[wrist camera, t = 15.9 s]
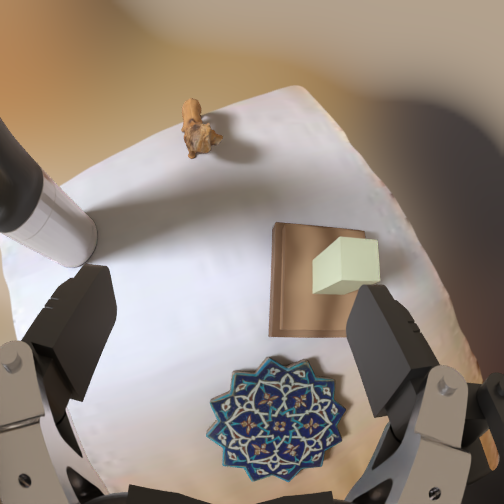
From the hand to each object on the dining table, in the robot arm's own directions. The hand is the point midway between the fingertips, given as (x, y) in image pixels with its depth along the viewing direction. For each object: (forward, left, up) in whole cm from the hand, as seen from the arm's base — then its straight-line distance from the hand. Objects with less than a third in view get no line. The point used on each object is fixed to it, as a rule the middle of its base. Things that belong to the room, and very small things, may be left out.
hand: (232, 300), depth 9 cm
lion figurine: (-7, +30, -33) cm, 45 cm away
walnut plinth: (+13, +7, -33) cm, 36 cm away
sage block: (+13, +7, -28) cm, 31 cm away
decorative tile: (+8, -14, -33) cm, 37 cm away
